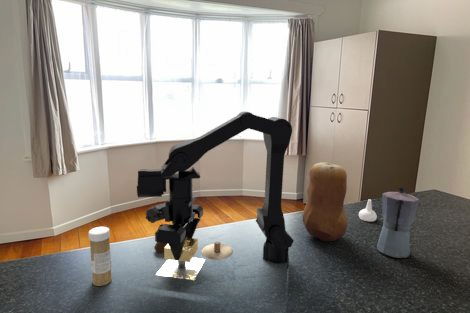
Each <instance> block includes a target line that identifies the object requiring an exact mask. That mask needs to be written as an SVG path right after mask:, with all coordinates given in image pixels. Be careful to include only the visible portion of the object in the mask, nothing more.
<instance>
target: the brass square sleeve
mask: <svg viewBox="0 0 470 313" xmlns="http://www.w3.org/2000/svg"><path fill="white" fill-rule="evenodd" d="M198 250H199V238H193V237H192V238H187V239H186V242H185V245H184V248H183V251H182V254H181V256H180V259H179V260H177V261H185V262H190V261H191V259H192V258H194V256H195V254H196V253H197V251H198ZM163 254H164V260H168V259H169V260H175V259H174V256H173V254H172V251H171V249H170V246H169V244H167V245H166V246H165V248H164V253H163Z"/></svg>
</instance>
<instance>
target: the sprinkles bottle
mask: <svg viewBox="0 0 470 313" xmlns="http://www.w3.org/2000/svg"><path fill="white" fill-rule="evenodd" d="M110 234H111V233H110V228H109V227H107V226H97V227H93V228H91V229H90V230H89V231H88V240H89V246H90V263H91V264H90V265H91V268H90V269H91V275H92V285H93V286H95V287H101V286H106V285H108V284H110V283H111V282H112V280H113V275H112V256H111V247H110V246H111V245H110V244H111V243H110V238H111V235H110Z"/></svg>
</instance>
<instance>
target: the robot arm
mask: <svg viewBox="0 0 470 313" xmlns="http://www.w3.org/2000/svg"><path fill="white" fill-rule="evenodd" d="M246 130H253V131H257V132H260V133H262V135H263V137H262V138H263V141H264V145H265V149H266V164H265V165H266V167H265V182H264V184H265V185H264V202H263V205H262V207H261V208H256V219H255V223H257V225H258V227H259V229H260V230H261V233H262V234H263V235H264V237H265V242H264V243H263V248H262V259H263V260H265V261H268V262H270V263H272V264H276V265H279V264H285V263H286V264H287V265H286V266H287V267H286V269H288V268H289V257H290V255H289V252H290V250H289V248H291V247H292V246H293V243H294V241H295V240H294V239H293V238H292V236H291V235H290V234H289V233H288V231H286V230H287V229H286V221H285V216H284V212H283V209H282V200H283V199H282V197H283V194H282V193H283V182H284V167H285V166H284V165H285V164H284V163H285V154H286V152H287V149H288V147H289V145H290V144H291V143H290V142H291V138H292V134H293V126H292V124H291V123H290V122H289V120H287V119H285V118H280V117H276V116H270V117H269V118H267V117H263V116H260V115H257V114H253V113H252V112H249V111H241V112H239V113H238V114H237V115H236V116H234V117H232V118H231V119H228V120H226V121H224V123H222V124H220V125H218V126H216V127H215V128H212V129H210V130H209V131H207V132H205V133H204V134H203V135H202V134H201V135H200V136H198V137H194V138H193V139H188V140H185V141H182V142H179V143H176V144H173V145H172V146H171V148H170V149H169V152H168V158H167V159H166V160H165V162H164V164H162V166H161V168H159V169H157V168H156V169H155V168H154V169H153V168H152V169H146V168H139V169H138V171H137V185H136V195H137V198H138V199H139V198H140V199H141V198H155V197H156V198H158V197H159V198H160V197H162V196H163V195H164V193H167V181H168V192H169V193H168V196H169V198H168V200H166V201H165V202H164V203H160V204H157V205H153V206H151V207H149V208H147V209H146V212H145V219H146V220H147V221H148V222H149V223H151V224H155V223H156V222H158V221H163V220H164V222H167V223H170V222H171V224H166V223H163V224H164V225H163V226H162V227H161V228H160V229H159V230H158V229H157V230H158V231H157V230H156V231H155V232H154V241H155V242H156V243H157V242H161V243H168V244H169V246H170V249H171V251H172V254H173V256H174V259H175V260H179V259H180V256H181V254H182V251H183V248H184V245H185V242H186V239H187V238H193V237H194V235H195V233H196V231H197V228H198V226H199V223H200V222H201V218H202V217H203V215H204V208H203V206H201V205H200V204H193V203H194V202H196V196H194V194H193V191H194V189H193V188H194V187H193V185H194V184H193V180H194V179H195V180H197V179H201V175H200V172H199V171H197V170H196V169H195V167H192V166H194V165H195V164H197V162H199V161H200V159H202V157H203V156H204V155H205V154H207V153H209V151H211V150H213V149H215V148H216V147H218V146H220V145H222V144H223V143H225V142H227V141H229V140H231V139H232V138H234V137H235V136H238V135H239V134H242V132H244V131H246ZM196 215H197V217H196Z"/></svg>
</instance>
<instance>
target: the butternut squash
mask: <svg viewBox="0 0 470 313" xmlns="http://www.w3.org/2000/svg"><path fill="white" fill-rule="evenodd" d="M308 173H309V180H308V187H307V190H306V193H307V202H306V203H305V206H304V209H303V214H302V224H303V225H304V229H305V230H306V232H307V234H309V235H310V236H312V237H314V238H317V239H319V240H320V241H321V242H328V243H330V242H333V241H337V240H339V239H341V238H343V237H344V235H345V234H346V232H347V228H348V216H347V213H346V210H345V209H346V208H345V206H344V203H345V198H346V194H347V188H348V184H347V182H348V181H347V179H348V176H347V175H348V174H347V171H346V169H345V168H344V167H343V166H342V165H337V164H334V163H330V162H327V161H326V162H325V161H324V162H318V163H315V164H313V166H312V167H311V168H310V170H309V172H308Z"/></svg>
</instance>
